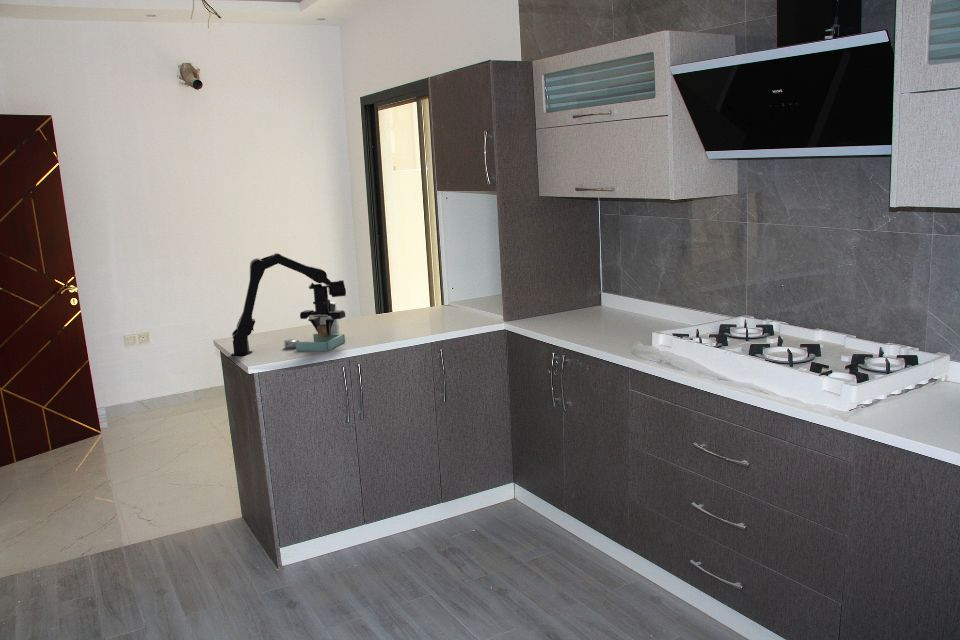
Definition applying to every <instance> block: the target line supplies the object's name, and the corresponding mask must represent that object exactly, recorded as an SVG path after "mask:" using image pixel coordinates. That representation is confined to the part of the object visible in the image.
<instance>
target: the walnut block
mask: <svg viewBox="0 0 960 640" xmlns="http://www.w3.org/2000/svg"><path fill="white" fill-rule="evenodd" d="M317 331H318V332H317ZM317 331H316V332H317V334H318V338H327V337H329V336H331V332H330V334H329V335H328V333H327V327H326V324H321V325H319V326H317Z"/></svg>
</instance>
